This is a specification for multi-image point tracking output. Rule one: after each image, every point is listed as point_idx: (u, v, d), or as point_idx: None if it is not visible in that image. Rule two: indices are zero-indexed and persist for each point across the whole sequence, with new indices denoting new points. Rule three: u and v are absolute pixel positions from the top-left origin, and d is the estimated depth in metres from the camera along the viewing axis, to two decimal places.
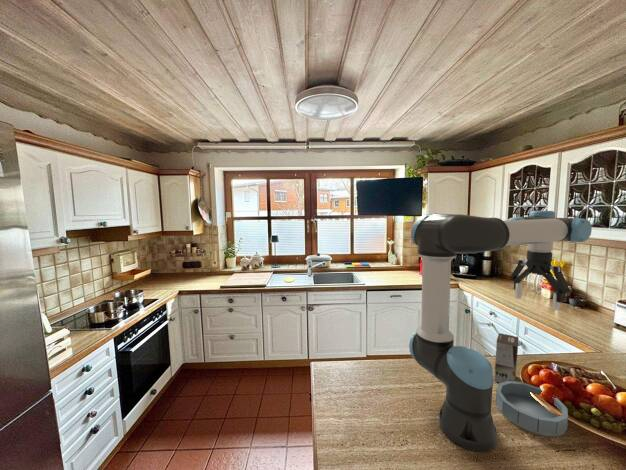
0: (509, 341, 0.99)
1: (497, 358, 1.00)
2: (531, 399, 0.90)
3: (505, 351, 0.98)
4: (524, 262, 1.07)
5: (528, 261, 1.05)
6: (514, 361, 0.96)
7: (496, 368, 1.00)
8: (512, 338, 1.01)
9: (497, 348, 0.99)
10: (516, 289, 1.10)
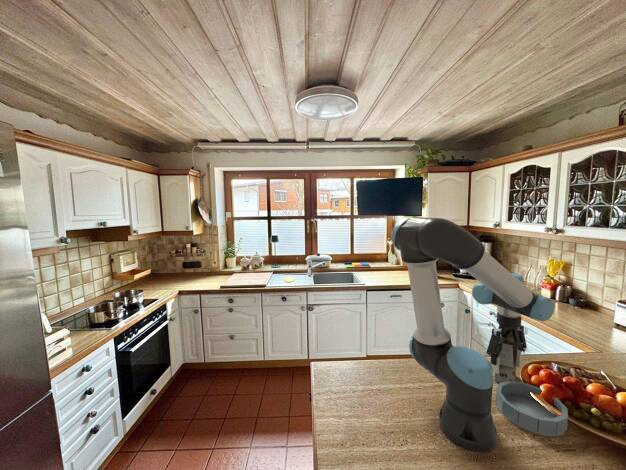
0: (508, 341, 0.99)
1: None
2: (531, 399, 0.90)
3: (505, 351, 0.98)
4: None
5: None
6: (514, 361, 0.96)
7: None
8: (511, 338, 1.01)
9: None
10: None
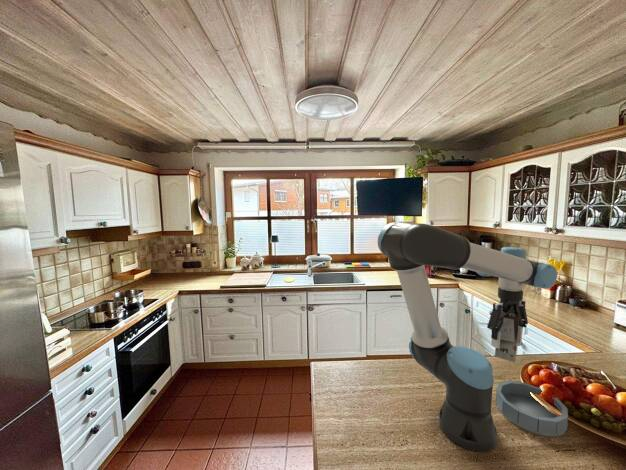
0: (510, 316, 0.98)
1: None
2: (531, 399, 0.90)
3: (506, 325, 0.97)
4: None
5: None
6: (515, 335, 0.95)
7: None
8: (513, 313, 1.00)
9: None
10: None
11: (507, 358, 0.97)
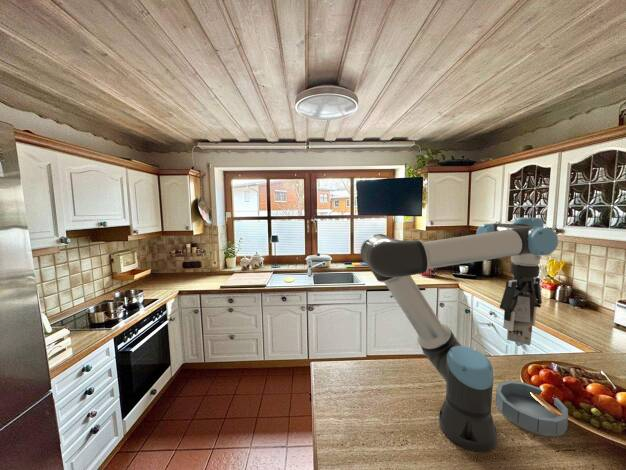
0: (524, 294, 0.88)
1: None
2: (531, 399, 0.90)
3: (521, 304, 0.86)
4: None
5: None
6: (531, 315, 0.85)
7: None
8: (526, 292, 0.90)
9: None
10: None
11: (521, 341, 0.87)
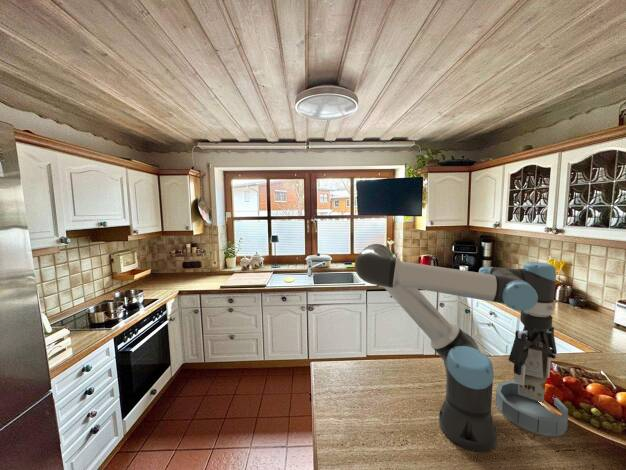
0: (536, 346, 0.81)
1: None
2: (531, 399, 0.90)
3: (532, 358, 0.80)
4: None
5: None
6: (544, 370, 0.78)
7: None
8: (539, 342, 0.83)
9: None
10: None
11: (534, 397, 0.80)
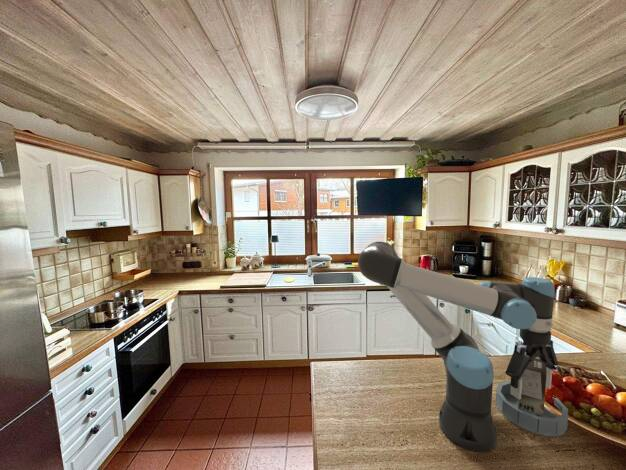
0: (535, 367, 0.82)
1: None
2: None
3: (531, 379, 0.81)
4: None
5: None
6: (543, 392, 0.79)
7: (520, 399, 0.83)
8: (538, 362, 0.84)
9: None
10: None
11: None
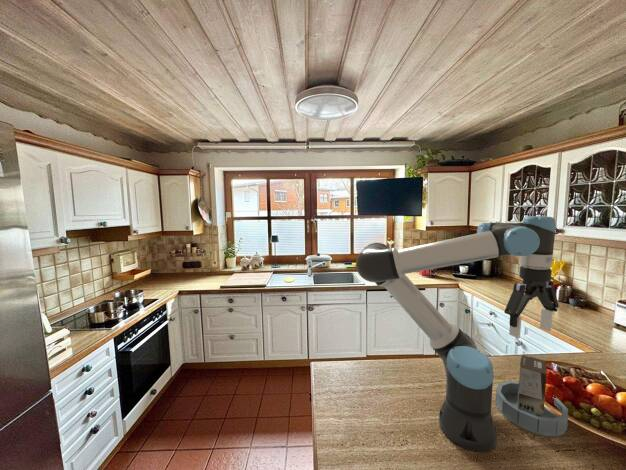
0: (535, 367, 0.82)
1: (521, 387, 0.82)
2: None
3: (531, 379, 0.81)
4: None
5: None
6: (543, 392, 0.79)
7: (520, 399, 0.83)
8: (538, 362, 0.84)
9: (521, 375, 0.82)
10: None
11: None
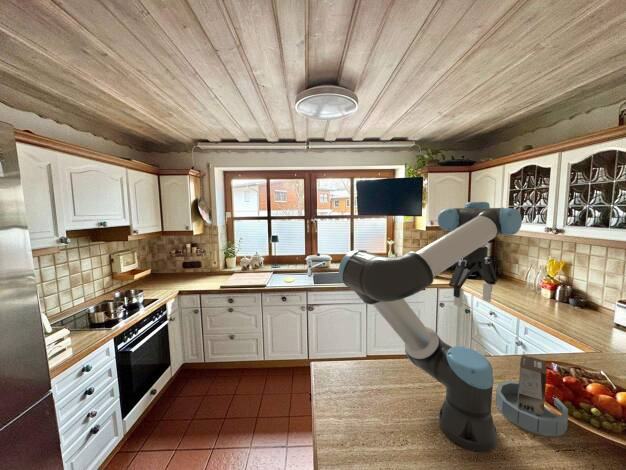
0: (535, 367, 0.82)
1: (521, 387, 0.82)
2: None
3: (531, 379, 0.81)
4: None
5: None
6: (543, 392, 0.79)
7: (520, 399, 0.83)
8: (538, 362, 0.84)
9: (521, 375, 0.82)
10: None
11: None
